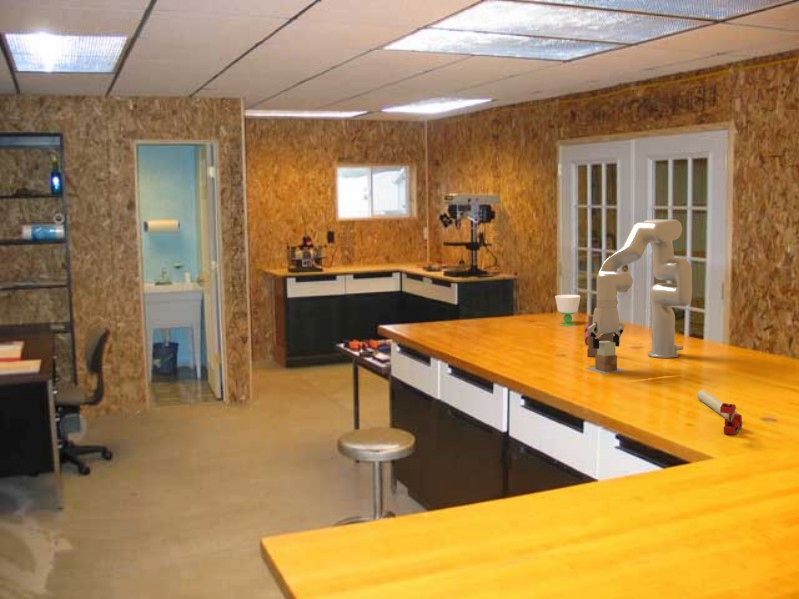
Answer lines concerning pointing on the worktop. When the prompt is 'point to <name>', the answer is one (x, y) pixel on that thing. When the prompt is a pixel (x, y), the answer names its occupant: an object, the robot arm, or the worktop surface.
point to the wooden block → (603, 337)
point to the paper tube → (711, 402)
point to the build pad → (605, 371)
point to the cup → (567, 307)
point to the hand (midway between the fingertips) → (606, 347)
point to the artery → (586, 333)
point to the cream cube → (606, 348)
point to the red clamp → (731, 419)
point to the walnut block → (605, 362)
